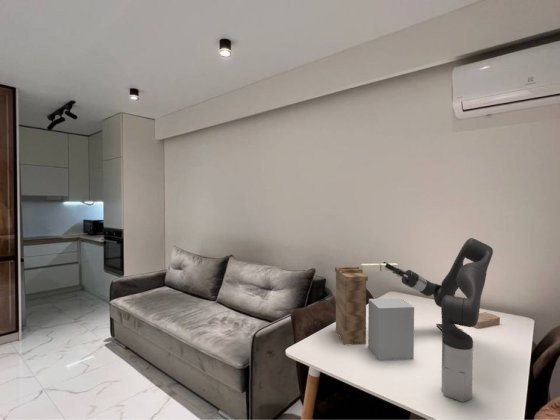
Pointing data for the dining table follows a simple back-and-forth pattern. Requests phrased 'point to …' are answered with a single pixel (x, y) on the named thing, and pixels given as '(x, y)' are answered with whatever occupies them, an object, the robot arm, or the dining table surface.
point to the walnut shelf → (351, 304)
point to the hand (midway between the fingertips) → (384, 264)
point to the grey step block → (391, 329)
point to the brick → (487, 320)
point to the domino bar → (377, 267)
